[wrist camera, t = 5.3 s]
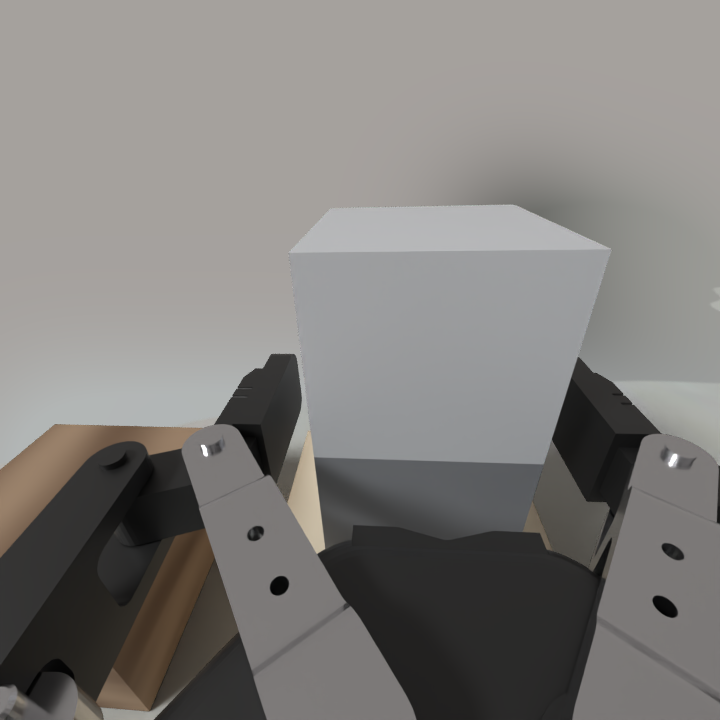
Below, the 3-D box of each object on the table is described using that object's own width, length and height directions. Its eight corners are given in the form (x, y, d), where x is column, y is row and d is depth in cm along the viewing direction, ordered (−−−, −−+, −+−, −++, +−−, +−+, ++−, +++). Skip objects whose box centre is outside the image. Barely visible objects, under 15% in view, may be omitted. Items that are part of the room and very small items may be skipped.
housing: (468, 468, 16) (514, 204, 11) (501, 599, 12) (611, 248, 6) (346, 464, 17) (330, 207, 11) (330, 589, 12) (288, 252, 6)
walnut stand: (246, 481, 21) (233, 428, 19) (149, 711, 13) (105, 658, 11) (84, 475, 22) (54, 424, 20) (-113, 689, 13) (-201, 636, 11)
